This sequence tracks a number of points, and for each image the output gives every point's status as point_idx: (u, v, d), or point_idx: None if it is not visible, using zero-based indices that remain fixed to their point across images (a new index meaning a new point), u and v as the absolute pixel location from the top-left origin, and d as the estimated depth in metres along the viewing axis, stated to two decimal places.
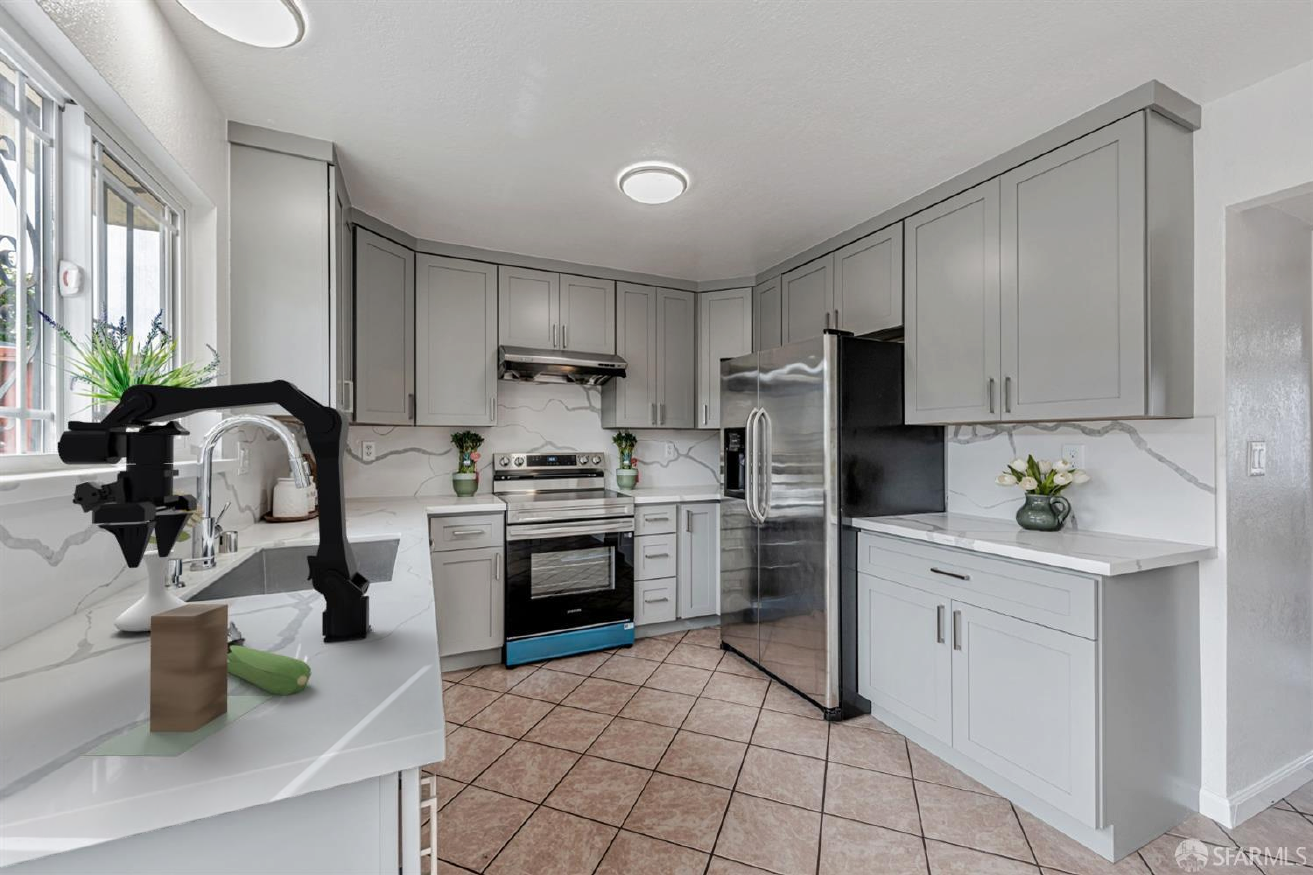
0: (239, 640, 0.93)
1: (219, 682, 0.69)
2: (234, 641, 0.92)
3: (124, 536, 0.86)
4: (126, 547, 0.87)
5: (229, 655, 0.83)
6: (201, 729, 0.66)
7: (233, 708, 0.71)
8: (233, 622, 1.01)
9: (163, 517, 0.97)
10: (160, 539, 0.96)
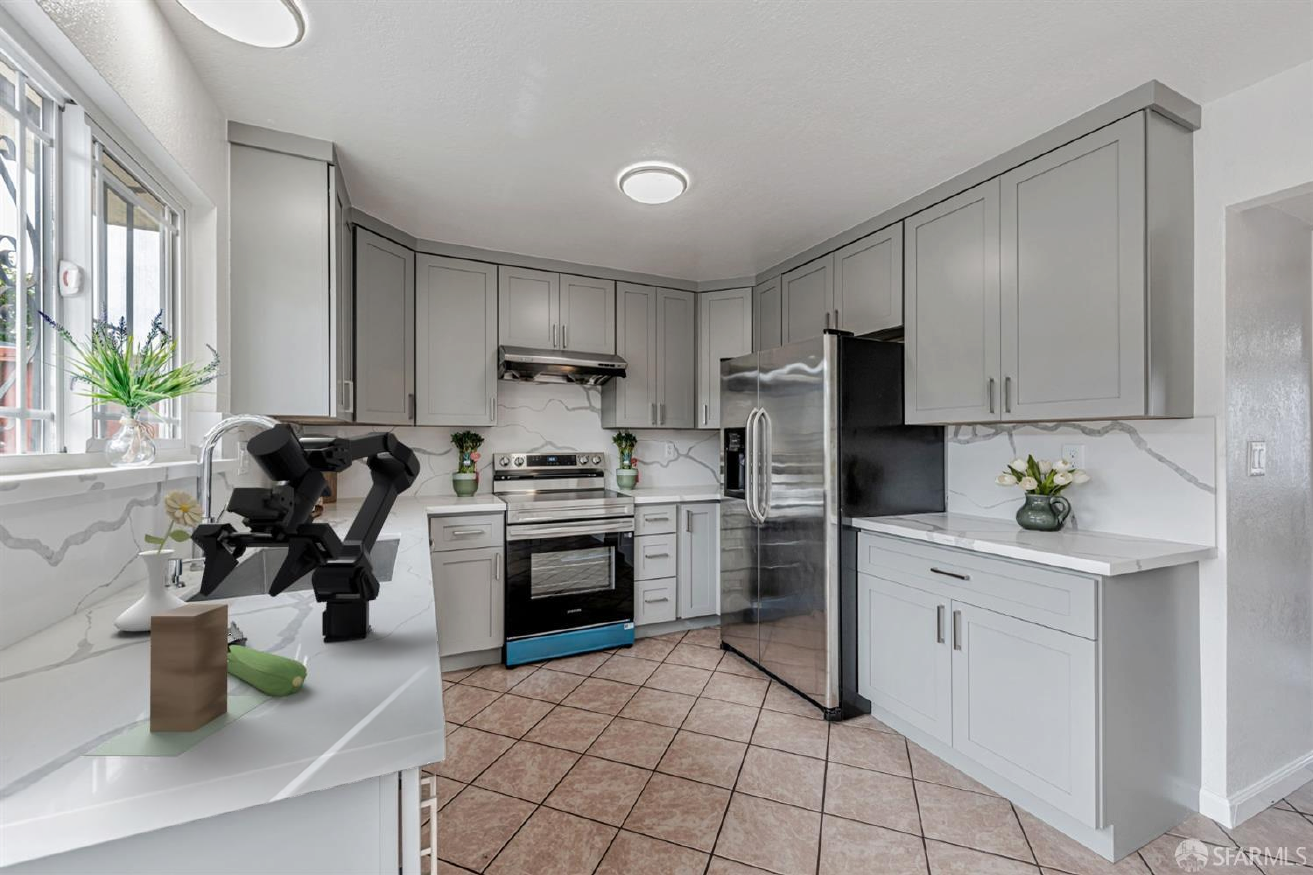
0: (241, 640, 0.93)
1: (219, 682, 0.69)
2: (236, 641, 0.92)
3: (296, 560, 0.79)
4: (289, 571, 0.77)
5: (228, 655, 0.83)
6: (201, 729, 0.66)
7: (233, 708, 0.71)
8: (234, 622, 1.01)
9: (225, 551, 0.80)
10: (213, 573, 0.78)
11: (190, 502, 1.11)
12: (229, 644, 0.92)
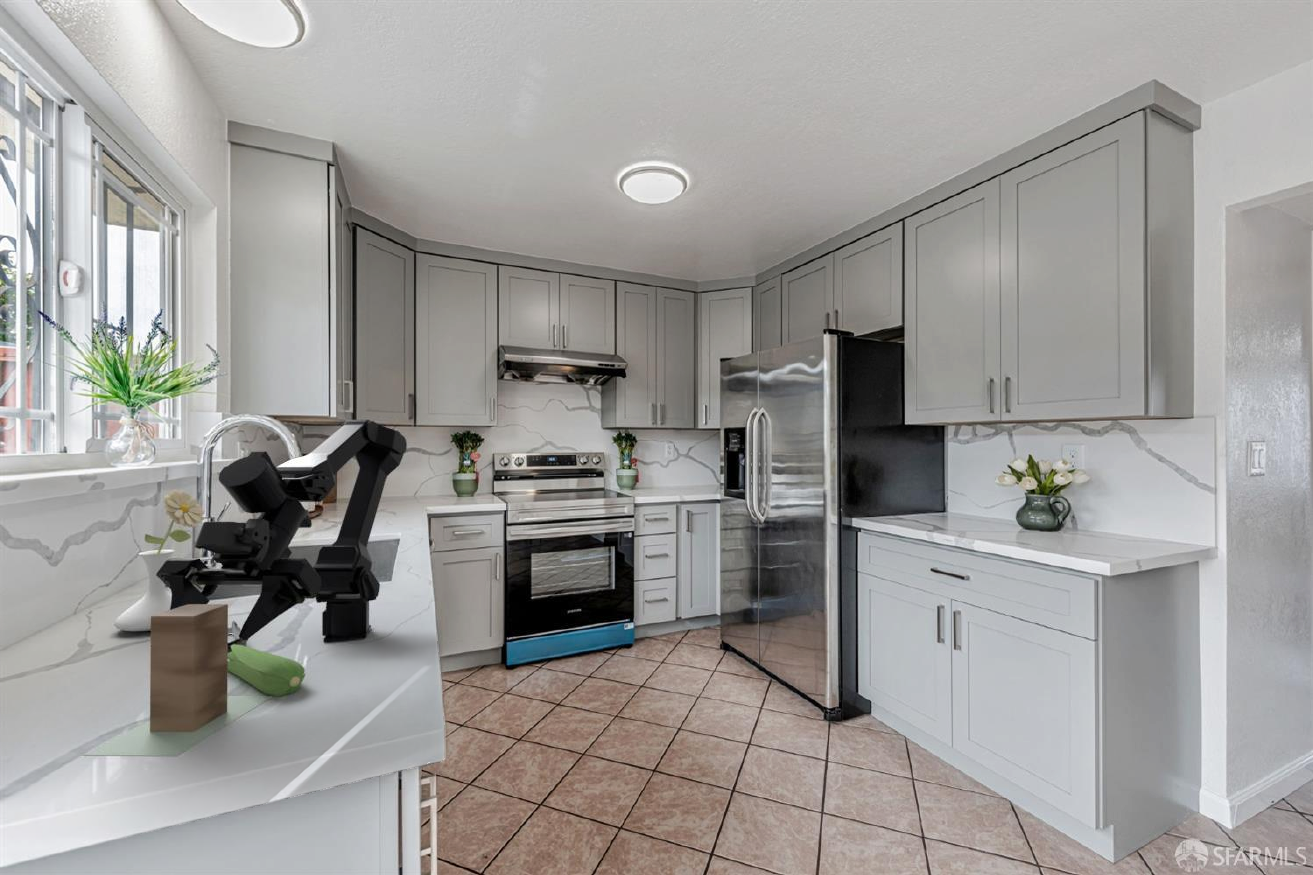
0: None
1: (219, 682, 0.69)
2: (237, 640, 0.92)
3: None
4: (262, 612, 0.72)
5: (229, 654, 0.83)
6: (201, 729, 0.66)
7: (233, 708, 0.71)
8: None
9: (194, 590, 0.75)
10: None
11: (190, 502, 1.11)
12: (230, 644, 0.92)
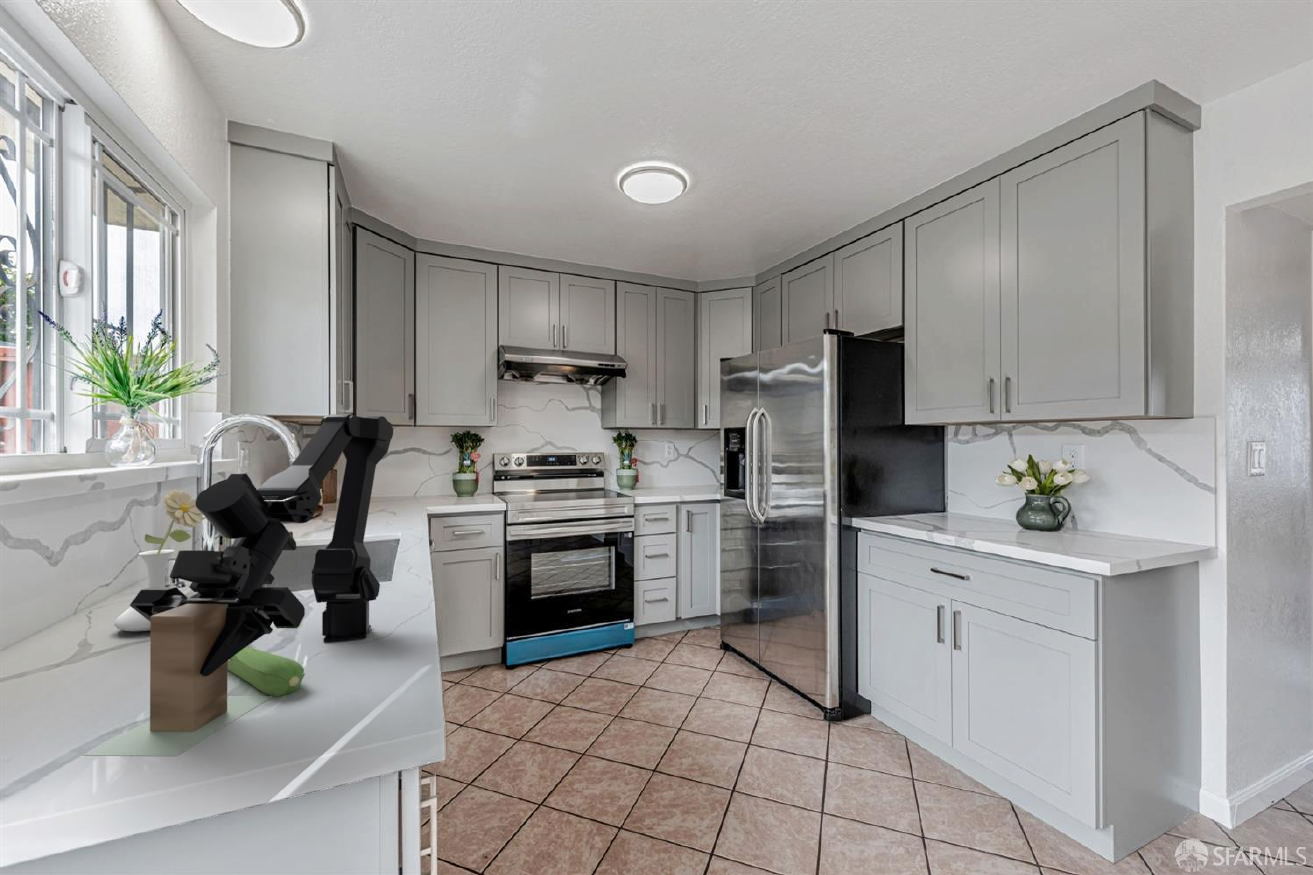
0: None
1: (219, 682, 0.69)
2: None
3: (234, 632, 0.70)
4: (226, 645, 0.68)
5: None
6: (201, 729, 0.66)
7: (233, 708, 0.71)
8: None
9: None
10: None
11: (190, 502, 1.11)
12: None
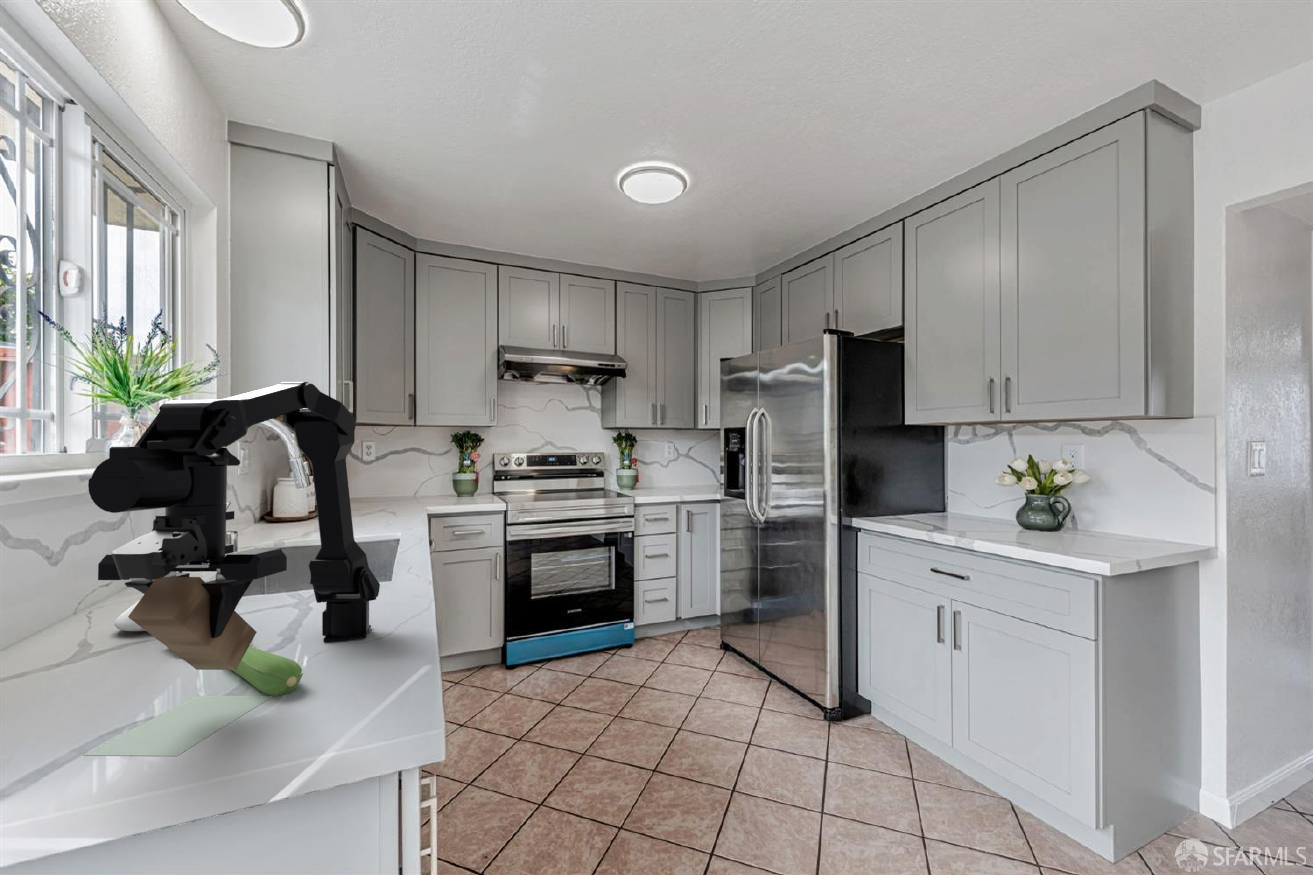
0: None
1: (235, 625, 0.72)
2: None
3: None
4: (222, 610, 0.68)
5: None
6: (201, 729, 0.66)
7: (233, 708, 0.71)
8: None
9: None
10: None
11: None
12: None
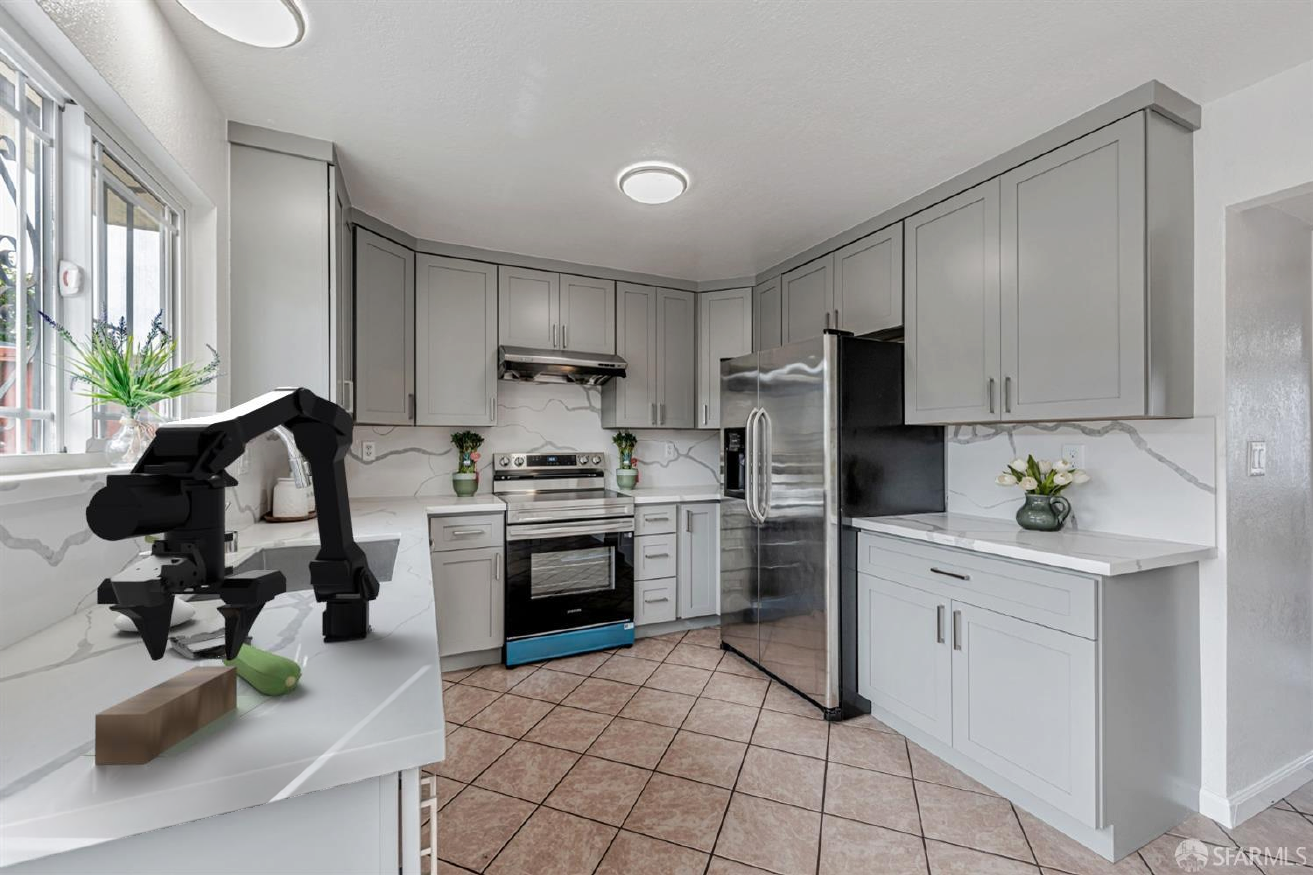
0: (247, 638, 0.93)
1: (212, 689, 0.68)
2: None
3: None
4: (237, 632, 0.68)
5: None
6: (201, 729, 0.66)
7: None
8: None
9: None
10: (154, 635, 0.68)
11: None
12: None
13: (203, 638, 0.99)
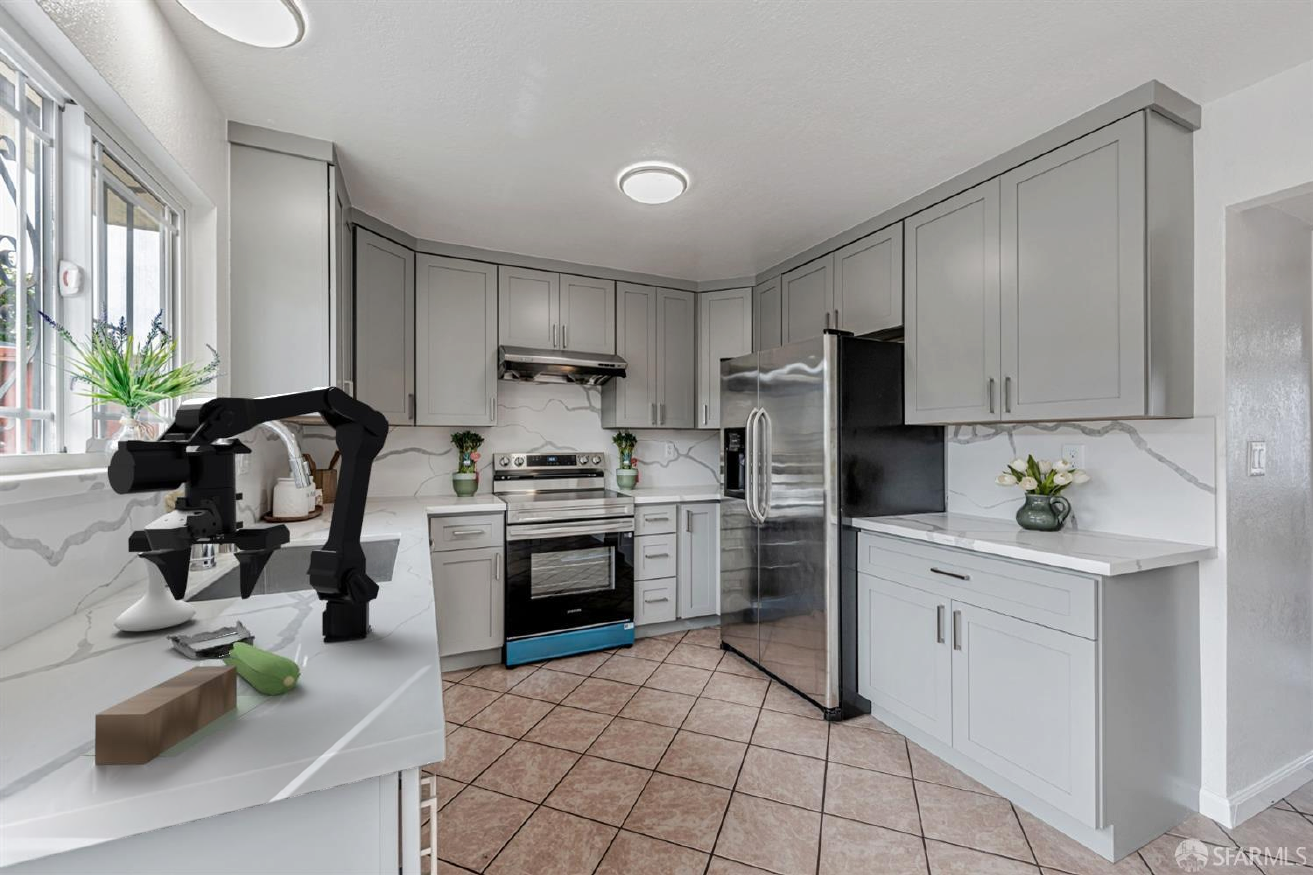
0: (249, 638, 0.93)
1: (212, 689, 0.68)
2: (244, 639, 0.93)
3: None
4: (250, 575, 0.81)
5: (231, 652, 0.84)
6: (201, 729, 0.66)
7: None
8: (240, 621, 1.02)
9: (173, 553, 0.81)
10: (176, 579, 0.80)
11: None
12: None
13: (204, 638, 0.99)
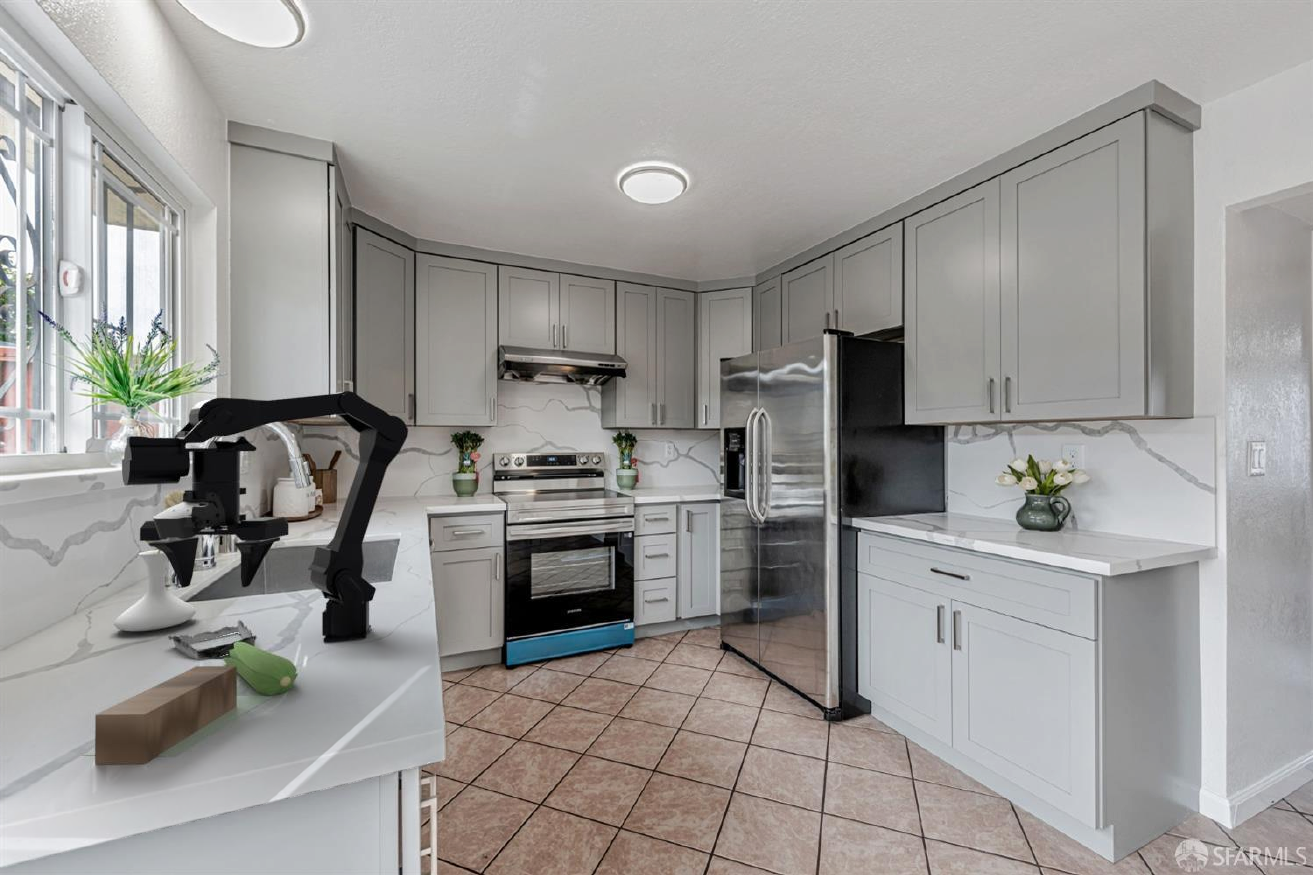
0: (251, 638, 0.94)
1: (212, 689, 0.68)
2: (246, 639, 0.93)
3: (251, 554, 0.86)
4: (250, 565, 0.86)
5: (231, 651, 0.84)
6: (201, 729, 0.66)
7: None
8: (241, 621, 1.02)
9: (181, 543, 0.86)
10: (183, 567, 0.86)
11: None
12: None
13: (206, 637, 0.99)
